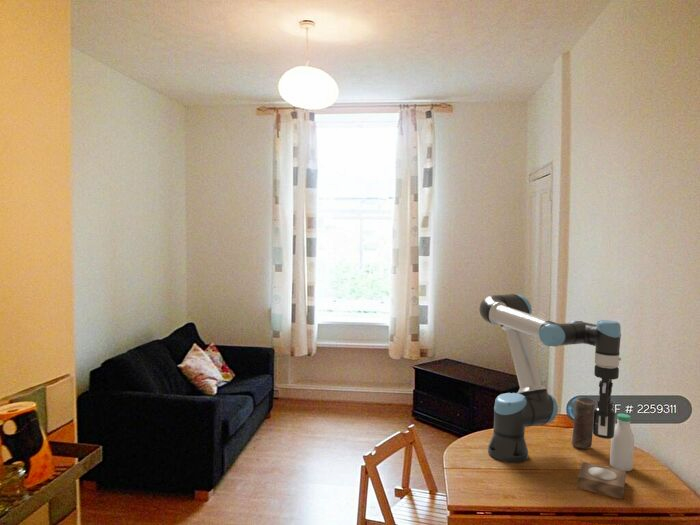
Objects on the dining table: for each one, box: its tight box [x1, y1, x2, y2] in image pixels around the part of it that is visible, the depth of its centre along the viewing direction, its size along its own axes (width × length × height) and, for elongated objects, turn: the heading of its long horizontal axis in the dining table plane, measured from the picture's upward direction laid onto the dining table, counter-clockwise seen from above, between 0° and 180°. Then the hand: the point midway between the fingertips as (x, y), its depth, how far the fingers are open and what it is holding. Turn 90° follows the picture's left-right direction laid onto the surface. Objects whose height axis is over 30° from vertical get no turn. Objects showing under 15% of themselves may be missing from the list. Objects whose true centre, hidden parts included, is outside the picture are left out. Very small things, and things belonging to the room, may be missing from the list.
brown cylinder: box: [571, 396, 596, 450], centre depth 215 cm, size 8×7×20 cm
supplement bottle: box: [592, 399, 617, 440], centre depth 181 cm, size 7×7×12 cm
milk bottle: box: [609, 413, 635, 472], centre depth 197 cm, size 8×8×20 cm
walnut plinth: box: [577, 461, 627, 500], centre depth 183 cm, size 14×14×4 cm
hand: (603, 431), depth 181 cm, fingers closed on supplement bottle, 7 cm apart
